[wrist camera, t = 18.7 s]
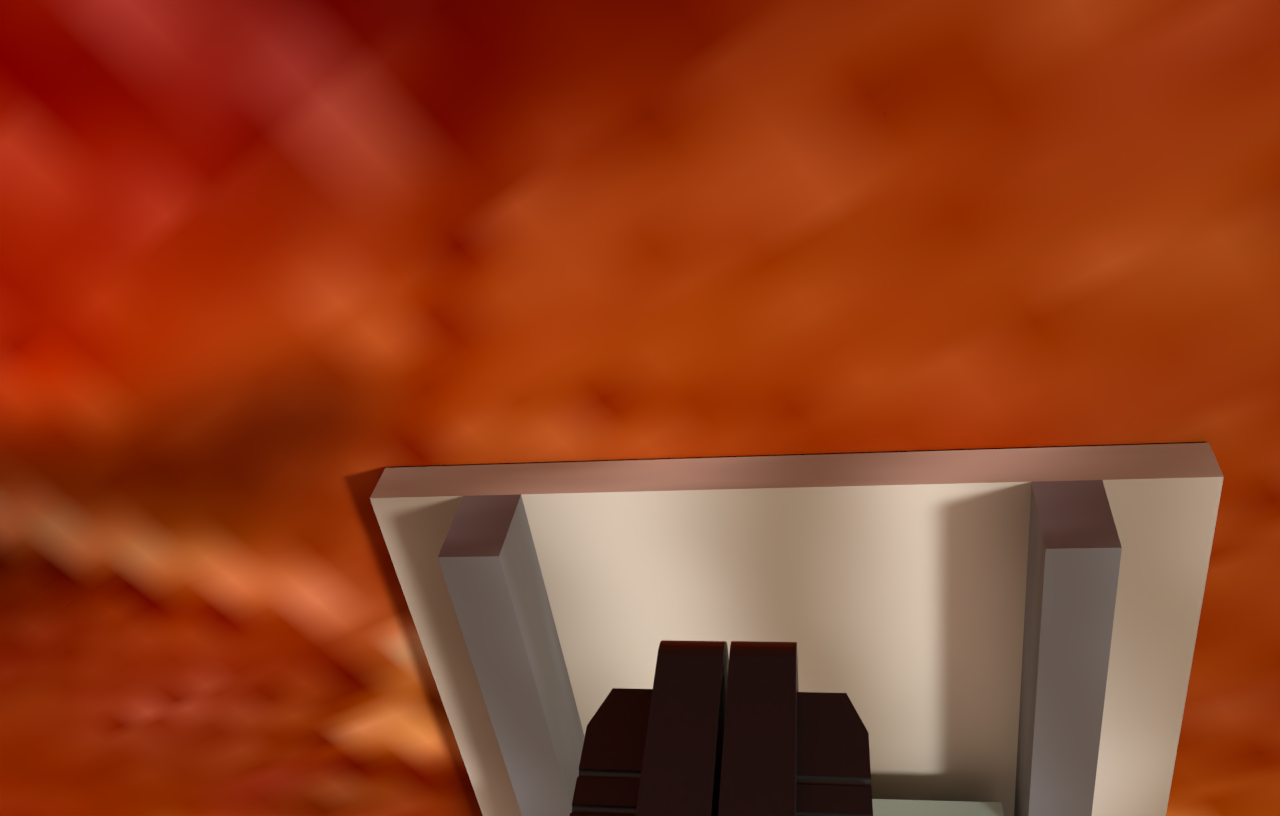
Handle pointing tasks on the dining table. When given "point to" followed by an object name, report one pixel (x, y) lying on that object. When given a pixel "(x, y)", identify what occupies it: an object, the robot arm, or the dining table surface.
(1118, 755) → the track
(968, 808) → the sage green tray
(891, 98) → the dining table surface
